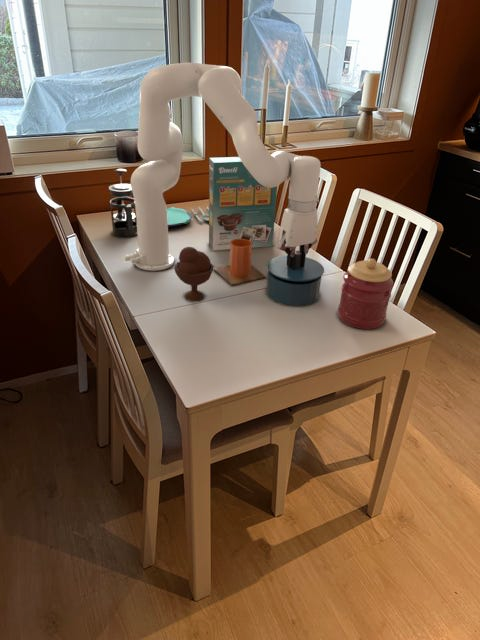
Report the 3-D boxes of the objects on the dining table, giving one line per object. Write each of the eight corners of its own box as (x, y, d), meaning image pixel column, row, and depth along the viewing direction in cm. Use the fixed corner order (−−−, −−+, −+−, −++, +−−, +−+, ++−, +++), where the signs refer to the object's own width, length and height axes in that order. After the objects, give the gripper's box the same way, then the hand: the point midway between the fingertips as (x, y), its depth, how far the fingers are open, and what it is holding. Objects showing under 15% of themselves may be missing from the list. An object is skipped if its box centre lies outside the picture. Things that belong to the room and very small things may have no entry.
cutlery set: (135, 214, 202) (135, 208, 200) (207, 208, 211) (207, 203, 210) (145, 232, 186) (144, 226, 185) (222, 225, 195) (222, 219, 194)
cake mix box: (267, 239, 185) (273, 155, 169) (272, 246, 180) (279, 160, 164) (208, 243, 179) (209, 157, 163) (212, 250, 174) (213, 162, 158)
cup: (235, 278, 155) (237, 248, 150) (225, 270, 160) (226, 240, 155) (254, 274, 158) (256, 245, 153) (243, 266, 163) (245, 237, 158)
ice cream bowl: (184, 308, 140) (183, 259, 132) (170, 291, 148) (168, 243, 140) (219, 301, 144) (220, 253, 136) (203, 284, 152) (203, 238, 144)
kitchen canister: (393, 318, 139) (407, 260, 130) (368, 335, 131) (380, 275, 122) (354, 301, 147) (364, 245, 138) (327, 316, 139) (336, 257, 130)
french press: (108, 229, 187) (101, 167, 175) (132, 225, 191) (127, 164, 179) (118, 241, 178) (112, 176, 166) (144, 236, 182) (139, 172, 170)
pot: (286, 311, 141) (288, 289, 137) (256, 287, 152) (258, 266, 149) (329, 299, 148) (332, 278, 144) (298, 277, 159) (300, 257, 155)
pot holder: (231, 285, 152) (232, 284, 152) (213, 270, 161) (213, 268, 161) (265, 278, 158) (265, 276, 157) (246, 263, 166) (246, 261, 166)
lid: (287, 288, 136) (289, 269, 133) (256, 264, 148) (257, 246, 145) (335, 276, 143) (338, 258, 141) (301, 254, 155) (303, 237, 153)
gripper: (317, 196, 142) (310, 256, 152) (269, 204, 135) (264, 266, 144) (334, 204, 136) (325, 266, 146) (284, 213, 129) (279, 277, 139)
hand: (295, 266), depth 145 cm, fingers closed on lid, 2 cm apart
